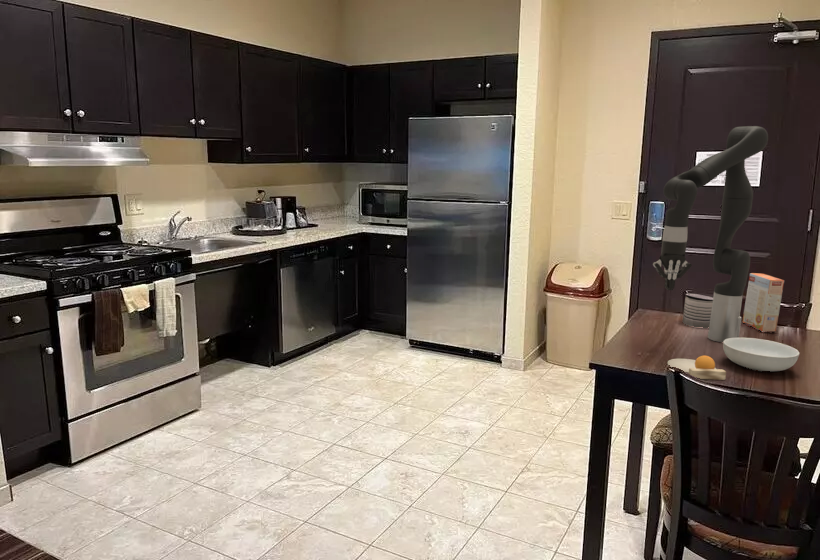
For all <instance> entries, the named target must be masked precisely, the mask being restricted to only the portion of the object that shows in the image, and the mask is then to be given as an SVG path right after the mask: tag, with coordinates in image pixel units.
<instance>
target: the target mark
mask: <svg viewBox="0 0 820 560" xmlns="http://www.w3.org/2000/svg"><path fill="white" fill-rule="evenodd" d="M695 361H696V359H689V358H672V359H669V360H668V361H667V366H669V365H670V366H669V367H671V368H672V367H676V368H679V369H681V370H683V371H684V372H683V371H682V372H683V373H688V374H689V368H696V367H695ZM714 369H717V368H716V367H715V368H714Z"/></svg>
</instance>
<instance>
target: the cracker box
mask: <svg viewBox="0 0 820 560" xmlns="http://www.w3.org/2000/svg"><path fill="white" fill-rule="evenodd" d="M748 277H749V278H748V284H747V289H746V297H745V303H744V308H743V314H742V316H743V317H742V320H741V323H742V322H743V323H747V324H750V325H752V326H753V327H755V328H757V329H759V330H761V331H776V332H777V327H778V321H779V314H780V309H781V304H782V303H781V302H782V296H783V290H784V284H785V280H784V279H781V278H778V277H775V276H772V275H769V274H766V273H756V272H751V273H749V275H748ZM743 323H742V324H743Z"/></svg>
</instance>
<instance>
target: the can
mask: <svg viewBox="0 0 820 560" xmlns="http://www.w3.org/2000/svg"><path fill="white" fill-rule="evenodd" d="M712 303H713V296H708V295H704V294H703V295H702V294H699V293H698V294H697V293H685V299H684V307H683V314H682V315H683V316H682V322H683V323H684V324H683V323H682V324H683V325H685V324H686V325H685V326H687V325H689V326H688V327H690V326H694V327H703V328H708V327H709V325H710V317H711V310H712ZM694 327H693V328H694ZM708 329H709V328H708Z"/></svg>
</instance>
